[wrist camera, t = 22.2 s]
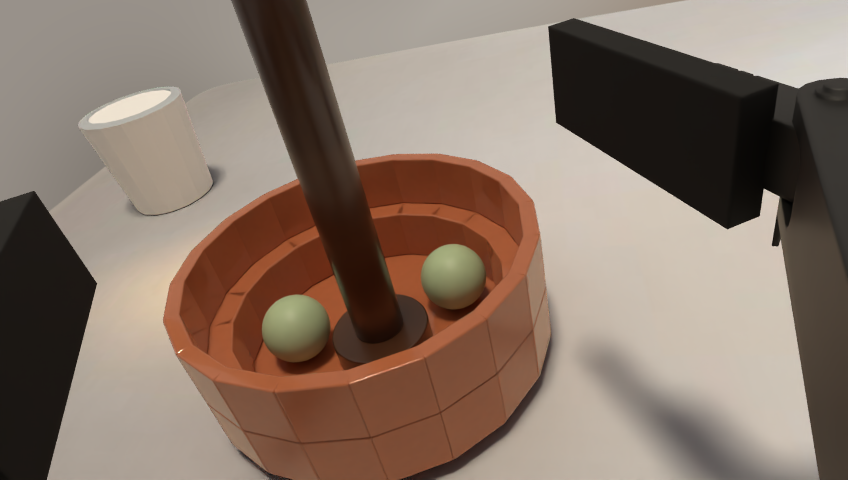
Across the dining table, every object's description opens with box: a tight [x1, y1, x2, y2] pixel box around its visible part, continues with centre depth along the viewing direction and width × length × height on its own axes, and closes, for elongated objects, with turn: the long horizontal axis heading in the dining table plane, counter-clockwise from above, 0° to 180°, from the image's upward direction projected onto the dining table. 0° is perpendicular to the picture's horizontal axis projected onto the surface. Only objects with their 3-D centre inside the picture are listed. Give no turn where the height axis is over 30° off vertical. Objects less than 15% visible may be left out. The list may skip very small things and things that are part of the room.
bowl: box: [163, 154, 551, 480], centre depth 24 cm, size 14×14×6 cm
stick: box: [231, 0, 433, 370], centre depth 19 cm, size 4×4×18 cm
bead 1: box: [262, 295, 331, 362], centre depth 24 cm, size 3×3×3 cm
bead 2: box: [421, 244, 486, 309], centre depth 25 cm, size 3×3×3 cm
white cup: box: [78, 86, 213, 215], centre depth 41 cm, size 7×7×7 cm
